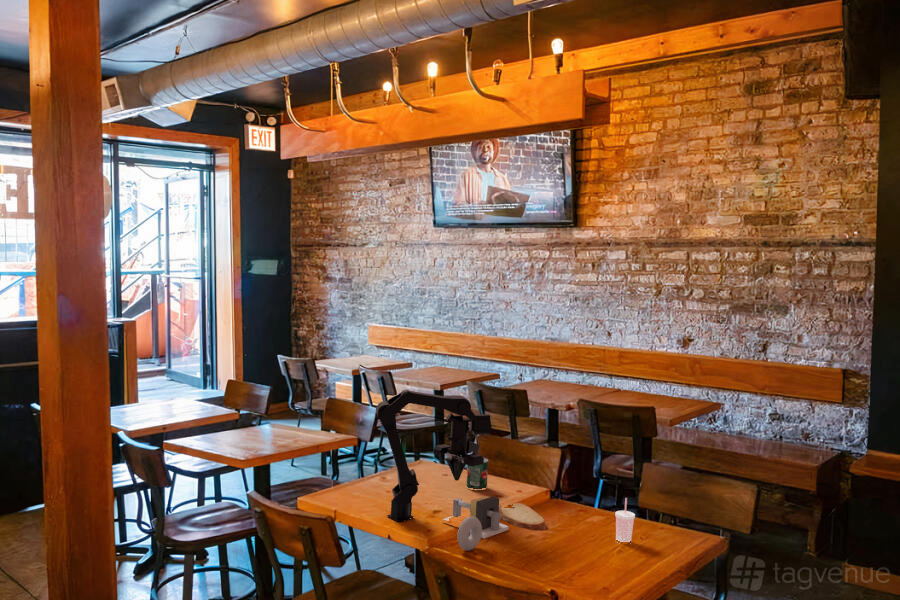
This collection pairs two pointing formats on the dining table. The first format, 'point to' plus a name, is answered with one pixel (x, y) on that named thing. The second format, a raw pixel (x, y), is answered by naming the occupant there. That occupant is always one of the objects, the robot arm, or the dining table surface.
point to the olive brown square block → (473, 506)
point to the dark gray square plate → (482, 507)
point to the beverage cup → (624, 524)
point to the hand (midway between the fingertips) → (456, 480)
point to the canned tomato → (477, 475)
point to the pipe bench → (488, 530)
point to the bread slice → (522, 517)
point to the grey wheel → (463, 533)
